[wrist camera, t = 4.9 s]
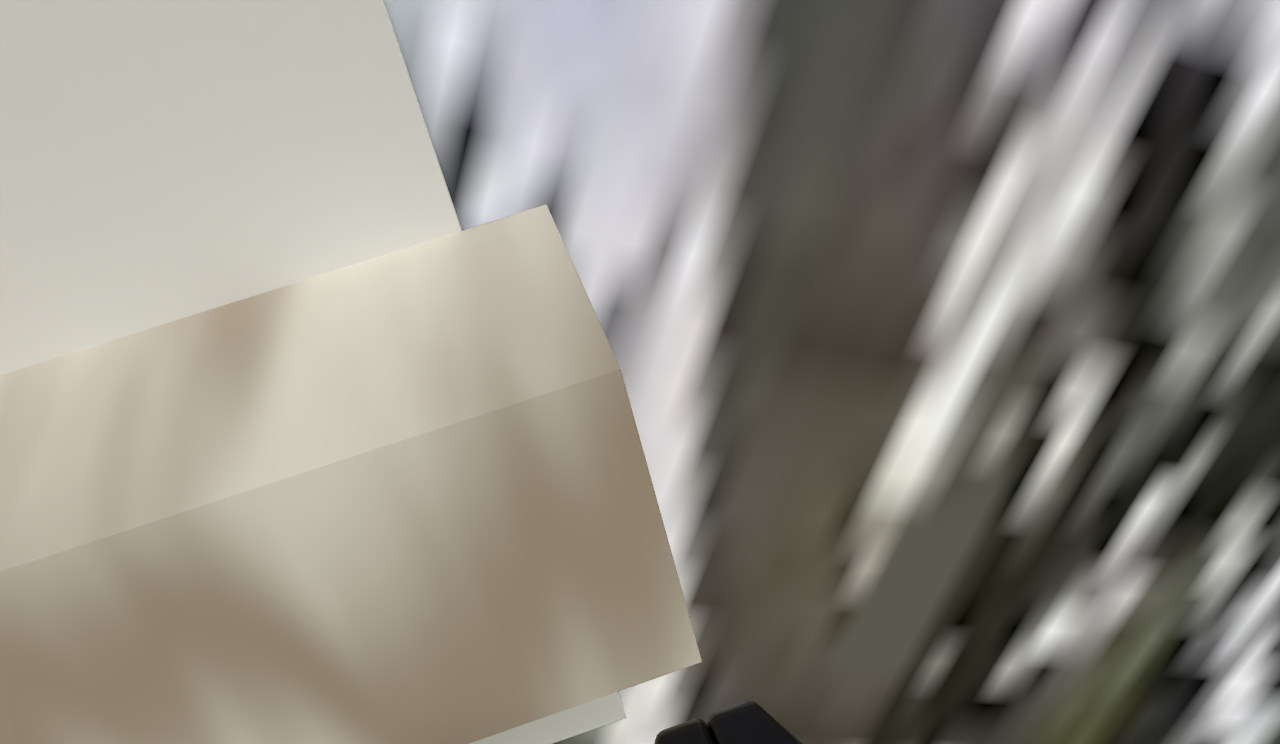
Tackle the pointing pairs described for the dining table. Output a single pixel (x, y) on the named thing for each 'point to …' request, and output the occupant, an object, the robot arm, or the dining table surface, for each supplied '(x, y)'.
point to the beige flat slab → (206, 173)
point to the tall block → (336, 513)
